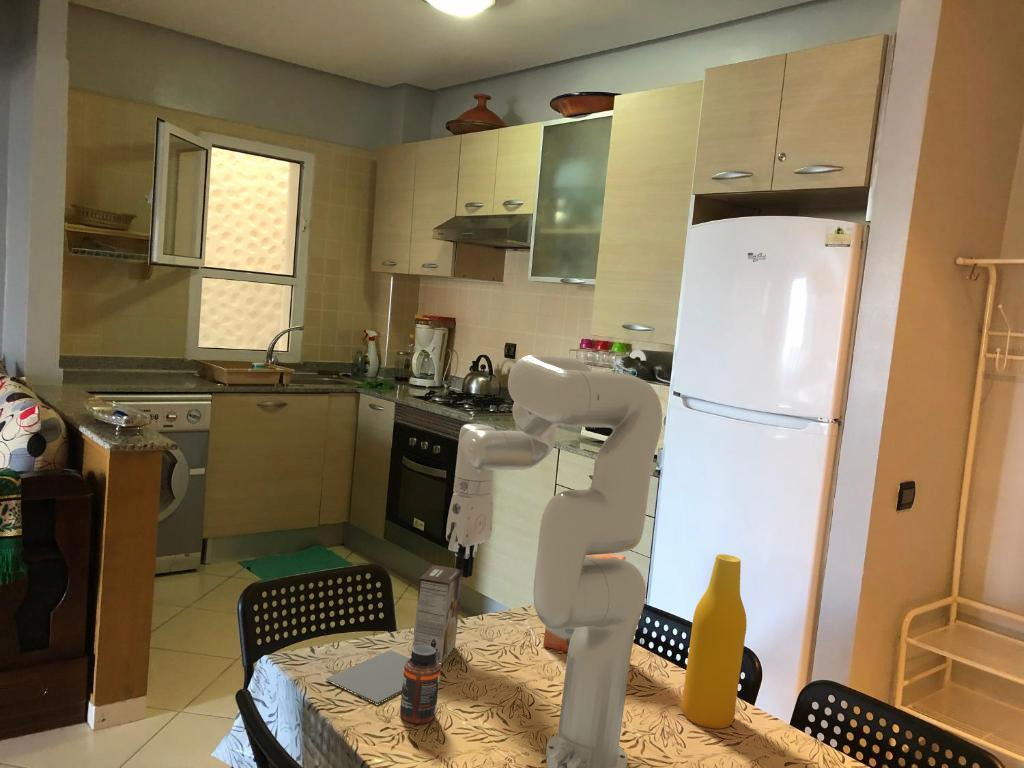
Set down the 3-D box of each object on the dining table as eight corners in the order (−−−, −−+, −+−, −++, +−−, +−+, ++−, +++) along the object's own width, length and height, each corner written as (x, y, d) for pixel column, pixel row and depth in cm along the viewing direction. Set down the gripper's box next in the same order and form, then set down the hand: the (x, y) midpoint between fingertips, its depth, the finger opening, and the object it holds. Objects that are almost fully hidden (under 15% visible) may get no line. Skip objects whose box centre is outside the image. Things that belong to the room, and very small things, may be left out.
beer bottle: (744, 727, 138) (767, 566, 136) (700, 732, 134) (722, 567, 132) (712, 701, 146) (733, 549, 144) (670, 705, 143) (691, 549, 141)
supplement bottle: (442, 715, 130) (450, 649, 129) (421, 729, 125) (428, 661, 124) (414, 703, 133) (421, 638, 132) (391, 716, 128) (398, 649, 127)
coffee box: (425, 641, 159) (433, 563, 158) (455, 647, 158) (464, 569, 156) (410, 659, 150) (419, 577, 149) (442, 665, 149) (451, 583, 147)
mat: (377, 705, 131) (377, 702, 131) (325, 681, 138) (325, 678, 137) (439, 672, 146) (439, 670, 146) (390, 652, 152) (390, 649, 152)
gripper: (466, 494, 149) (455, 589, 151) (508, 485, 162) (499, 572, 163) (434, 486, 153) (425, 578, 155) (479, 478, 166) (469, 563, 167)
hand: (463, 575), depth 159 cm, fingers closed
